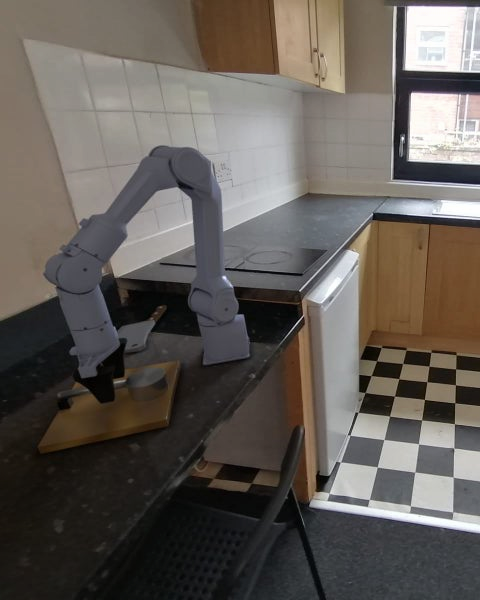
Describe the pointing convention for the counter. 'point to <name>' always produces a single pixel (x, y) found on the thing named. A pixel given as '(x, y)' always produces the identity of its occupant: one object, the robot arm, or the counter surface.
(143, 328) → the kitchen cleaver
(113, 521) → the counter surface
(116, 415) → the chopping board
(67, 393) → the grey disc-end rod
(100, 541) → the counter surface
